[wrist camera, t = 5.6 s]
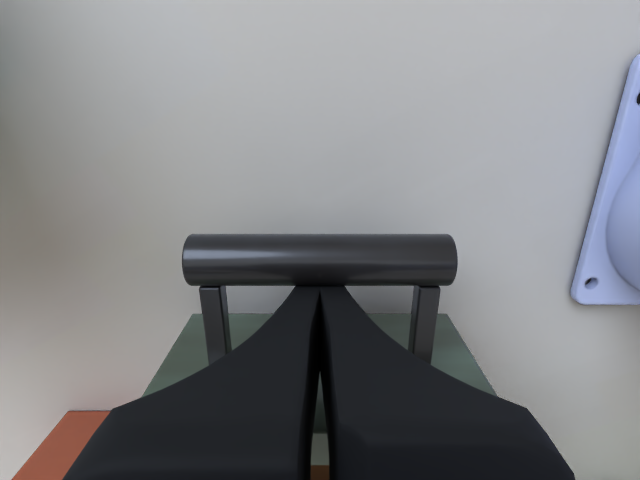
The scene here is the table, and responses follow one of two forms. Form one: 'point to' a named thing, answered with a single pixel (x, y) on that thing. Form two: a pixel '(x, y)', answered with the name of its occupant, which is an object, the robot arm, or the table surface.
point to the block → (61, 446)
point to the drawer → (319, 270)
